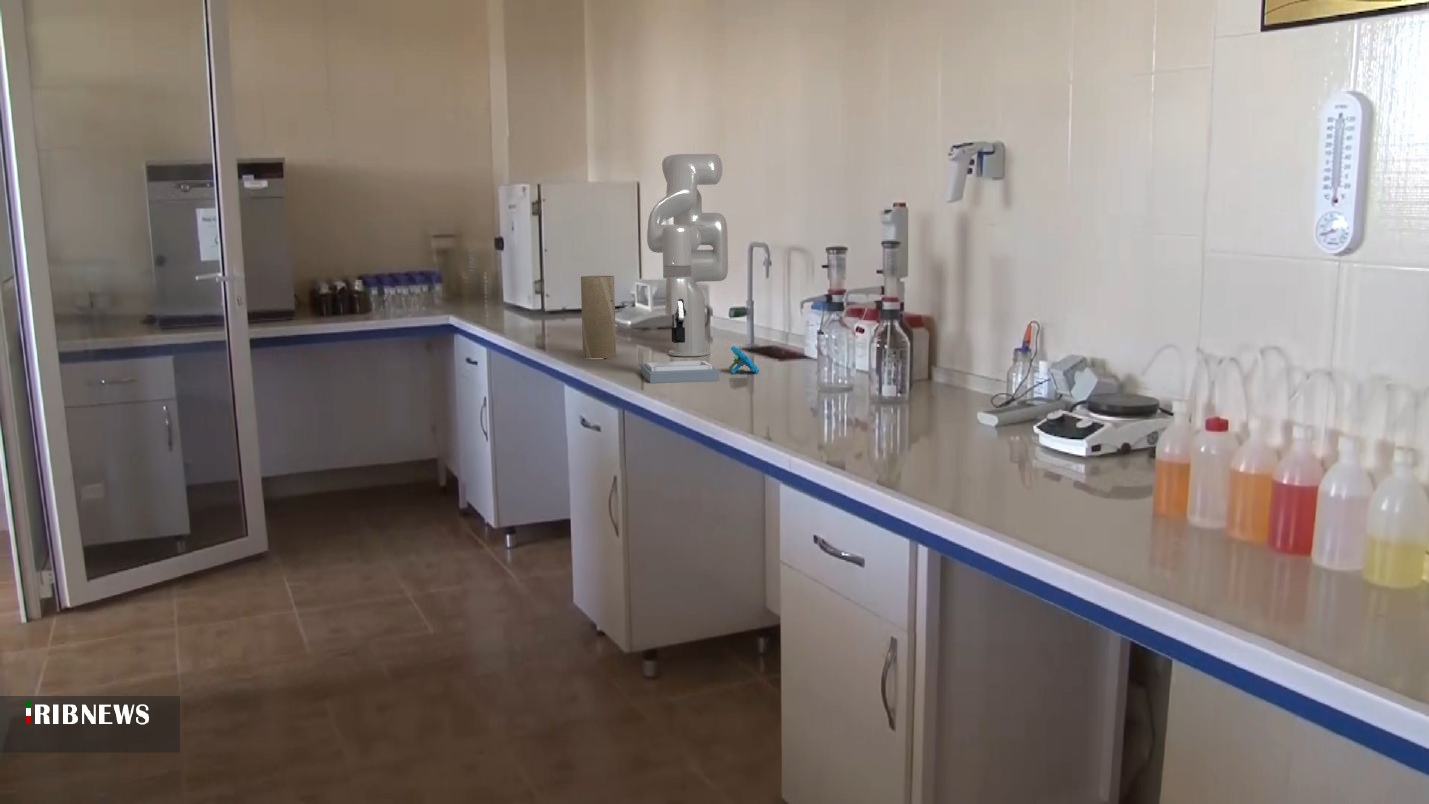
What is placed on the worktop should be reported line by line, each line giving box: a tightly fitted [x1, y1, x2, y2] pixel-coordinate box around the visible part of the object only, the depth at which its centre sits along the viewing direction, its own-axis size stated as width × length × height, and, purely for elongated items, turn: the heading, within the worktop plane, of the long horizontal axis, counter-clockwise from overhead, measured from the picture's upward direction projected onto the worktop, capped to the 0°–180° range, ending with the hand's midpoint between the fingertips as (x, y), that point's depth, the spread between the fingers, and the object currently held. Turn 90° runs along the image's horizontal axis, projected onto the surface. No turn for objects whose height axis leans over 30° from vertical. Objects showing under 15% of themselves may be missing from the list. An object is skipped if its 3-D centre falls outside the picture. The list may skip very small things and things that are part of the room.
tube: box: [580, 275, 617, 359], centre depth 348 cm, size 10×10×25 cm
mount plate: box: [640, 360, 720, 384], centre depth 307 cm, size 20×18×4 cm
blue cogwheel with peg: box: [728, 345, 760, 375], centre depth 311 cm, size 11×6×10 cm
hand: (678, 341), depth 306 cm, fingers closed
